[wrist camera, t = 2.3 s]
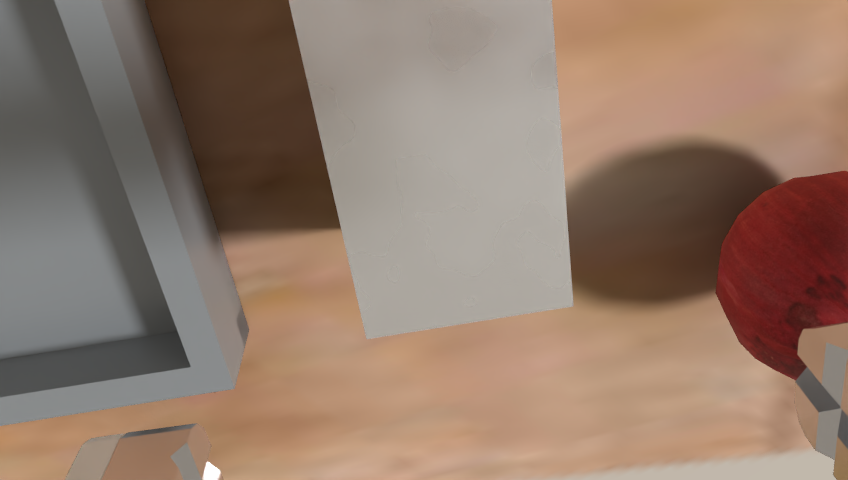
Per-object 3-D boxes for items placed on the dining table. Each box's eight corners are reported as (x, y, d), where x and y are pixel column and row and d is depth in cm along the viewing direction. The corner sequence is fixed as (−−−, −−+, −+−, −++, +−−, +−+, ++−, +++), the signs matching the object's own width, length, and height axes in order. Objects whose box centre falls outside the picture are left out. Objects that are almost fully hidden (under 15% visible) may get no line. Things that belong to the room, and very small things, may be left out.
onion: (719, 324, 26) (846, 509, 19) (650, 196, 24) (766, 354, 17) (886, 240, 25) (1085, 403, 18) (831, 96, 23) (1038, 220, 16)
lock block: (311, -46, 20) (288, 0, 15) (502, -79, 20) (548, -44, 15) (368, 224, 24) (366, 339, 19) (529, 198, 24) (573, 306, 18)
